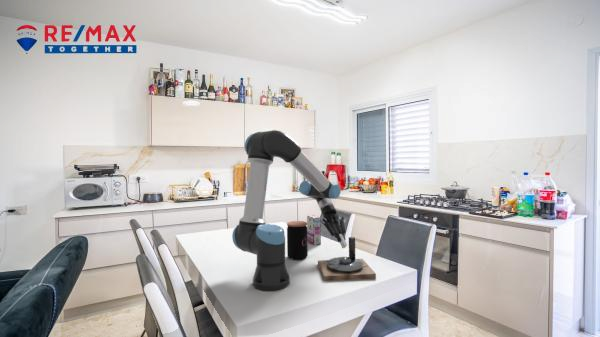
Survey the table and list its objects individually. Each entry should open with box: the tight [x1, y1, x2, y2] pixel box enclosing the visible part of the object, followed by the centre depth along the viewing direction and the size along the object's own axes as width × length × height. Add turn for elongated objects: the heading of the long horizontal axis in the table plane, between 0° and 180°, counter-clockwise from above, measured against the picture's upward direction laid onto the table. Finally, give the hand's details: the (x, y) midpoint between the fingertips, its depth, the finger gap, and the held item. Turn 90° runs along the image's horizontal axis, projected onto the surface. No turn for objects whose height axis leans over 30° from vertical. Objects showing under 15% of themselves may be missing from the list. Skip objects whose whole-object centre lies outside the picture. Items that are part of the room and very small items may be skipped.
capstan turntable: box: [327, 236, 363, 273], centre depth 134 cm, size 16×16×12 cm
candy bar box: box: [306, 214, 322, 246], centre depth 183 cm, size 11×5×16 cm, turn 21°
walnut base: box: [317, 258, 377, 282], centre depth 134 cm, size 22×20×2 cm
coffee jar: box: [286, 220, 309, 261], centre depth 155 cm, size 11×11×18 cm
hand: (344, 246), depth 145 cm, fingers closed
